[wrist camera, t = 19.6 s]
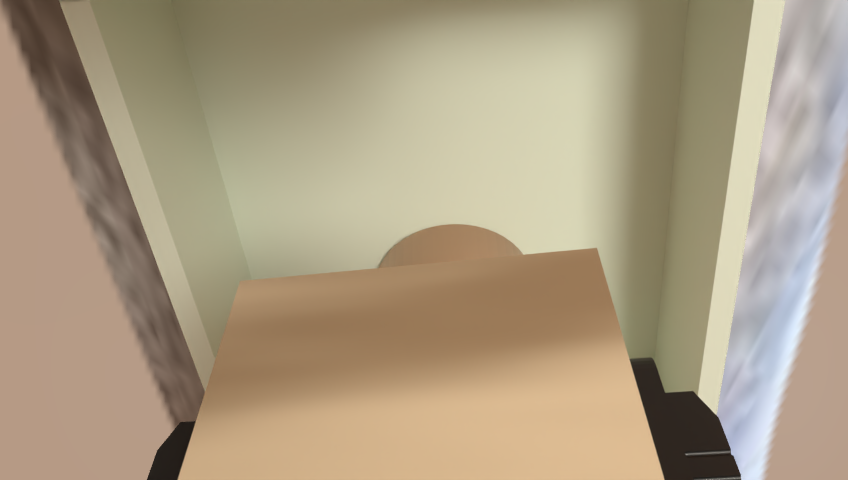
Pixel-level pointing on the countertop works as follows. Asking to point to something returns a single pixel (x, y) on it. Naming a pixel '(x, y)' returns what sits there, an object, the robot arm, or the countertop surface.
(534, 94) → the tote
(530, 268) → the maple block
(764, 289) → the countertop surface
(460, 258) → the spice jar
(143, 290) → the countertop surface
